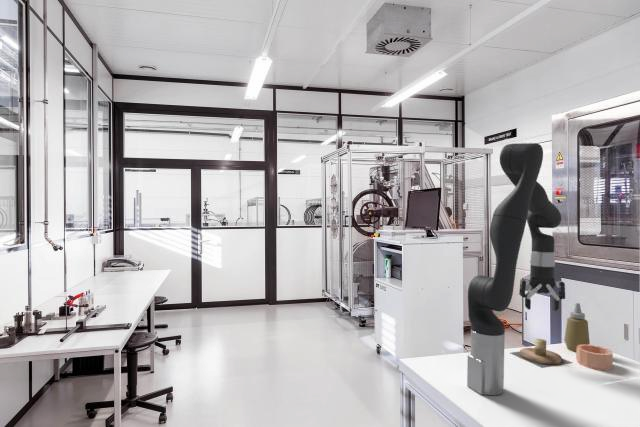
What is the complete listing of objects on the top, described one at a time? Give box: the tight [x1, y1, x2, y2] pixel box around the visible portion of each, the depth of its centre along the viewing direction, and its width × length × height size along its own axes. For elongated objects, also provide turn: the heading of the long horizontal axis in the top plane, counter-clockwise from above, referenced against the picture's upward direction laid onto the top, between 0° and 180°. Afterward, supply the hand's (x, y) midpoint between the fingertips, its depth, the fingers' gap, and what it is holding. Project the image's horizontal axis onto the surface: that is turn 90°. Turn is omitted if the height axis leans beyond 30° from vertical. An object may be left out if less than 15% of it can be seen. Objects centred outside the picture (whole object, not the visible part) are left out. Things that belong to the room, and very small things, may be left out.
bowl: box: [575, 344, 614, 371], centre depth 138 cm, size 10×10×6 cm
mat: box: [509, 351, 573, 369], centre depth 143 cm, size 14×14×1 cm
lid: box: [519, 338, 562, 366], centre depth 143 cm, size 13×13×6 cm
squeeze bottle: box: [563, 302, 591, 353], centre depth 151 cm, size 8×8×18 cm
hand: (541, 309), depth 142 cm, fingers open, 8 cm apart
